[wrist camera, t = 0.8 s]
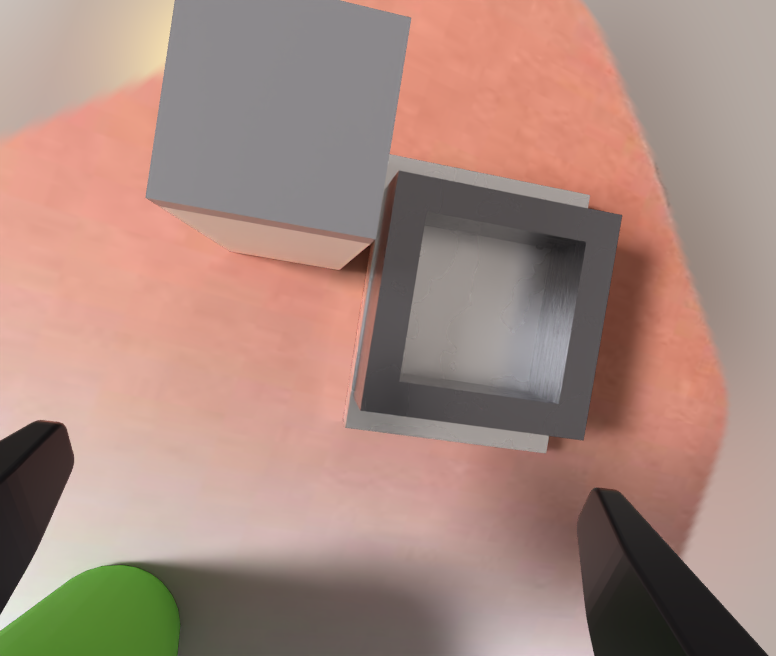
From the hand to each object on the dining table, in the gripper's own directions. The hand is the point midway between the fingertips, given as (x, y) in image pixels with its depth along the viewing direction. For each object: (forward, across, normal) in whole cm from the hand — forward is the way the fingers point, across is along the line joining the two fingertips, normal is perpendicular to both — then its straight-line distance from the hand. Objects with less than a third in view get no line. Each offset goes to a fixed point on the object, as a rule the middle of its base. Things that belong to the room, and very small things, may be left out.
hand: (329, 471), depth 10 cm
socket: (+14, -4, +5) cm, 16 cm away
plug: (+15, +4, +2) cm, 16 cm away
